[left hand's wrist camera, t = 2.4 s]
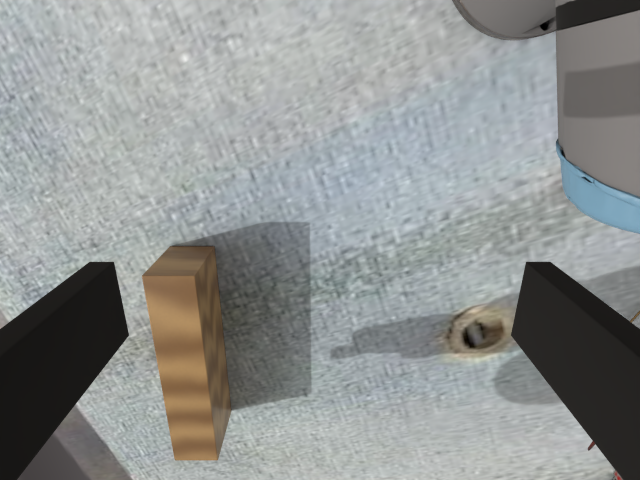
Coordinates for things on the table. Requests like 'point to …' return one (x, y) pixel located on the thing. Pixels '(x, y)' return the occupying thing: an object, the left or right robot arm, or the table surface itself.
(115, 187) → the table surface
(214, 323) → the bar
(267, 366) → the table surface
